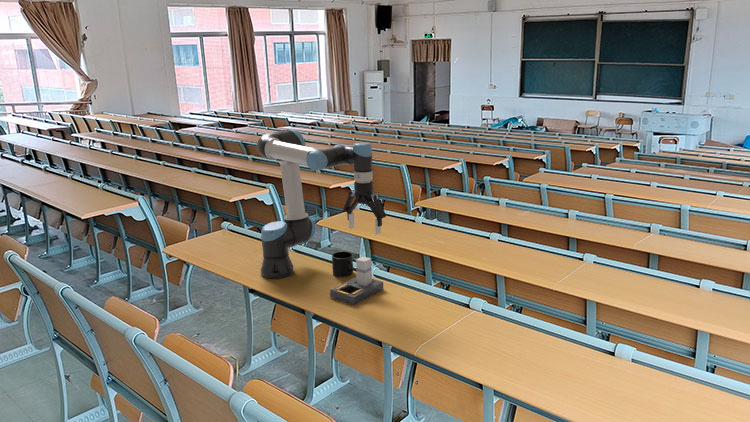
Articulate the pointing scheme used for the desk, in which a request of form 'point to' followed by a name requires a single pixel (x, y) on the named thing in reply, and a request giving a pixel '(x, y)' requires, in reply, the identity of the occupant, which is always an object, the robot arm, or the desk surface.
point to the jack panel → (355, 291)
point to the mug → (342, 264)
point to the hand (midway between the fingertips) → (364, 230)
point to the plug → (364, 271)
